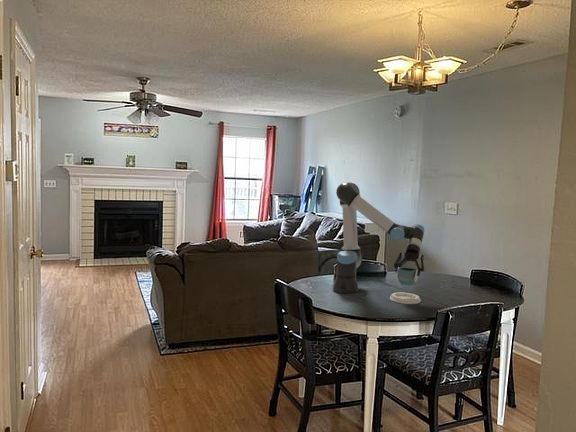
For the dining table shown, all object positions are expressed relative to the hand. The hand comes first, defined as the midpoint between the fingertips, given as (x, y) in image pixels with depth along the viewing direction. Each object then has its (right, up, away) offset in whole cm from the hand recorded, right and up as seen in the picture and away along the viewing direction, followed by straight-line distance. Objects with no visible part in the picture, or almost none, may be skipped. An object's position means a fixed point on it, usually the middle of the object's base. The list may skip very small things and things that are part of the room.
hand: (405, 279), depth 275 cm
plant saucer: (0, -12, +4) cm, 13 cm away
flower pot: (+1, -4, +3) cm, 5 cm away
